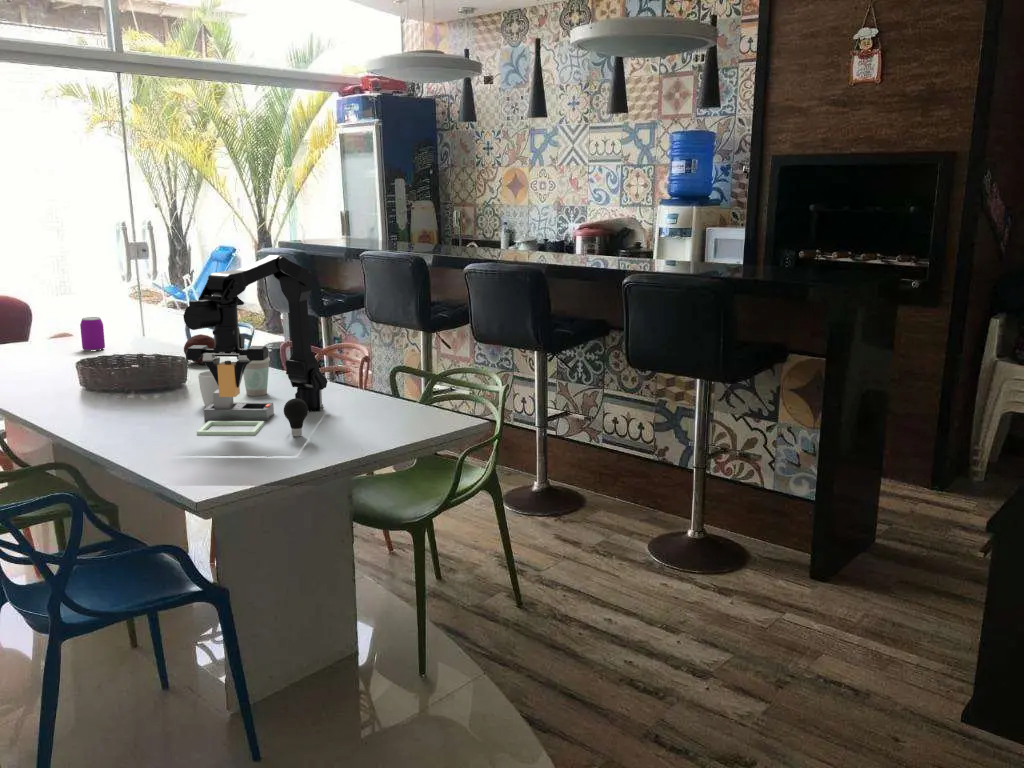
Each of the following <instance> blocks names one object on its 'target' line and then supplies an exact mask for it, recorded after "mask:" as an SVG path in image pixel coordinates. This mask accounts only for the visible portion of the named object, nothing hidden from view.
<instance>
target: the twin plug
mask: <svg viewBox="0 0 1024 768" xmlns="http://www.w3.org/2000/svg"><path fill="white" fill-rule="evenodd" d="M213 400H214V409H232V408H233V407H234V397H219V389H217V390H216V391H215V392H214V393H213Z"/></svg>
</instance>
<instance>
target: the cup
mask: <svg viewBox="0 0 1024 768" xmlns="http://www.w3.org/2000/svg"><path fill="white" fill-rule="evenodd" d="M197 376H198V383H199V384H198V385H199V389H200V394H201V398H202V401H203V404H204V406H205V408H206V407H208V406H209V405H210V404H211V403H213V402H214V400H213V393H214V392H215V391H216V390H217V389H219V386H218V384H217V382H216V380H215V378H214V376H213V375H212V373H211V371H210V370H207V371H202V372H199V373H198V374H197Z"/></svg>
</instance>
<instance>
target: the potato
mask: <svg viewBox="0 0 1024 768" xmlns="http://www.w3.org/2000/svg"><path fill="white" fill-rule="evenodd" d="M193 345H207V346H208V348H209V349H214V347H215V341H214V337H211V336H209V335H207V334H197V335H193V336H191V337H190V338H189V339H188V340H187V341H186V342H185V343H184V346H183V353H184V355H185V356H186V354H185V353H186V350H187V349H188V348H189V347H191V346H193ZM191 361H192V362H193V363H196V364H199V365H203V364H202V361H203V356H202V357H201V358H200V359H199V360H191Z"/></svg>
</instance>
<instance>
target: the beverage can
mask: <svg viewBox="0 0 1024 768" xmlns="http://www.w3.org/2000/svg"><path fill="white" fill-rule="evenodd" d="M80 321H81V322H80V324H79V326H80V337H81V347H82V350H83V351H85V352H92V351H91V350H100V349H103V348H104V349H105V348H106V343H105V331H104V323H103V321H102V319H101V317H99V316H95V317H94V316H86V317H82V318H81V320H80ZM104 349H103V350H104Z"/></svg>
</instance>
